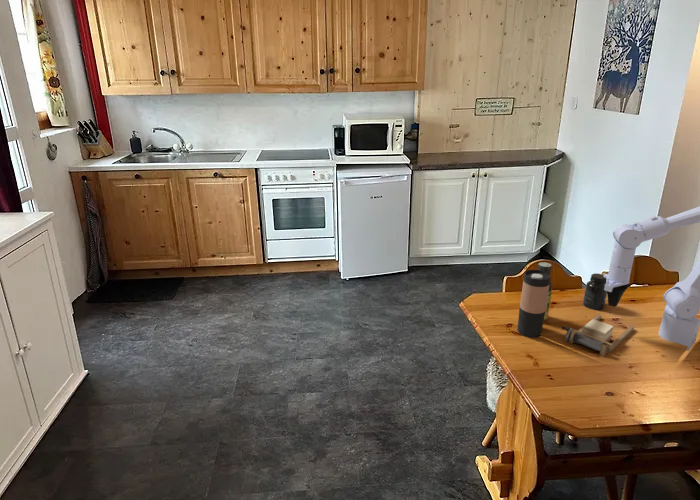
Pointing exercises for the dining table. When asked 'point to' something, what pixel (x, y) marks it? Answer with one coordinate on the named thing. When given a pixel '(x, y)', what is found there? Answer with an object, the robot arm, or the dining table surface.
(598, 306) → the supplement bottle
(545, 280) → the travel mug
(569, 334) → the winch
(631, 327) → the bay
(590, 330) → the red striped cream box
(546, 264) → the sauce bottle
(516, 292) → the dining table surface
